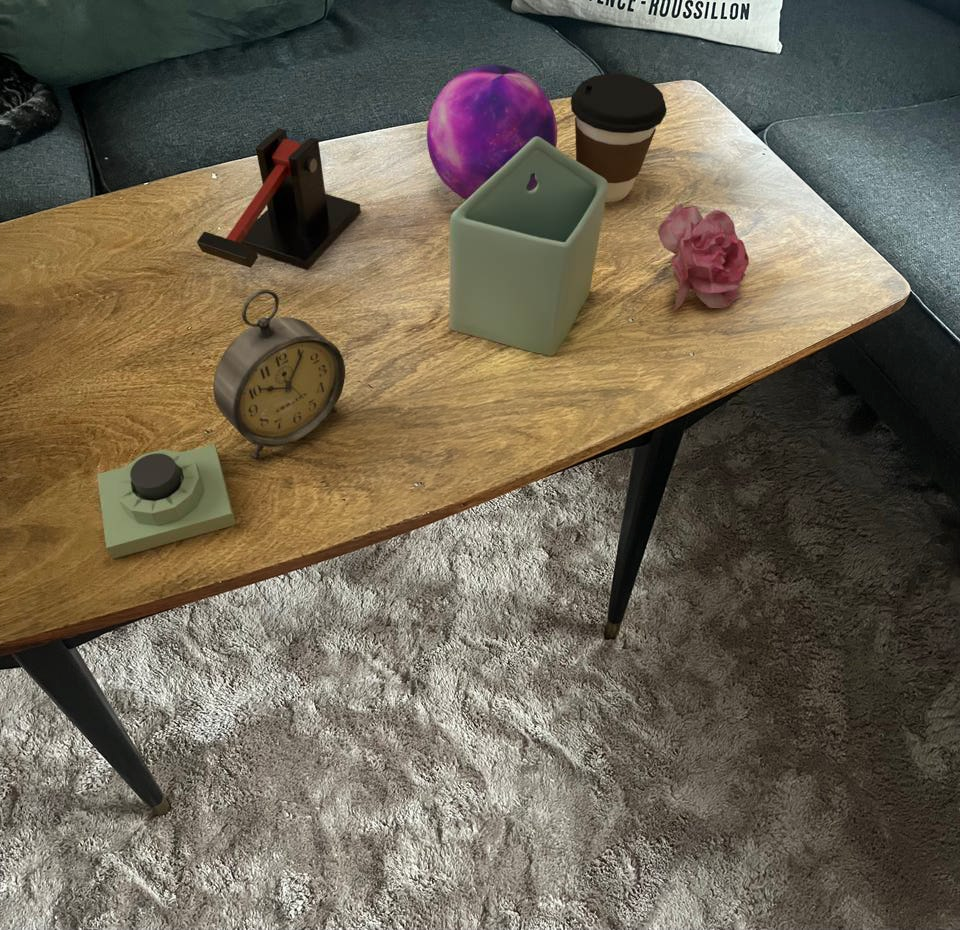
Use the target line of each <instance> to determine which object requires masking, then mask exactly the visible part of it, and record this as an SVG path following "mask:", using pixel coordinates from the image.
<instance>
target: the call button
mask: <svg viewBox="0 0 960 930" xmlns="http://www.w3.org/2000/svg"><path fill="white" fill-rule="evenodd" d="M130 477H131V480H132V482H133V484H134V486H135V488H136V490H137V492H138V494H139V495H140V496H141V497H142V498H144V499H147V500H153V501H154V500H161V499H165V498H167V497H169V496H171V495H172V494H173V493H175V492H176V491H177V489H178V488H179V486H180V484H181V476H180V473H179V471H178V468H177V466H176V463H175V461H174V460H173V459H172V458H171V457H170V456H168V455H165V454H160V453H156V454H150V455H147V456H144V457H142V458H141V459H139V460H138V461H137V462H136V463H135V464H134V465H133V467H132V469H131V472H130Z"/></svg>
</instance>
